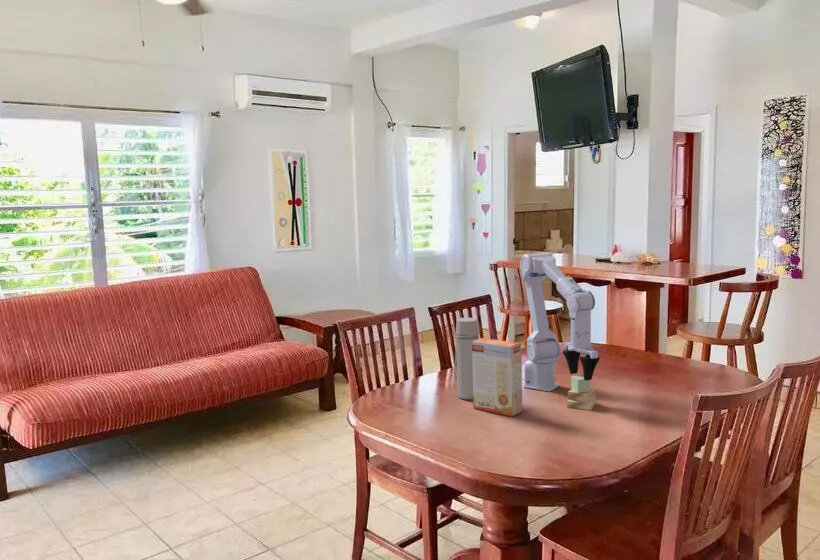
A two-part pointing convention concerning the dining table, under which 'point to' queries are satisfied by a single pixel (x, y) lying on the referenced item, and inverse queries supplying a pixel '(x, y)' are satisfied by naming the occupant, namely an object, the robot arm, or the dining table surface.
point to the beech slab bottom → (580, 404)
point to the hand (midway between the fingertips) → (580, 376)
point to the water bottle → (465, 355)
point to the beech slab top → (582, 396)
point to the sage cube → (580, 384)
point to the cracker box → (497, 376)
